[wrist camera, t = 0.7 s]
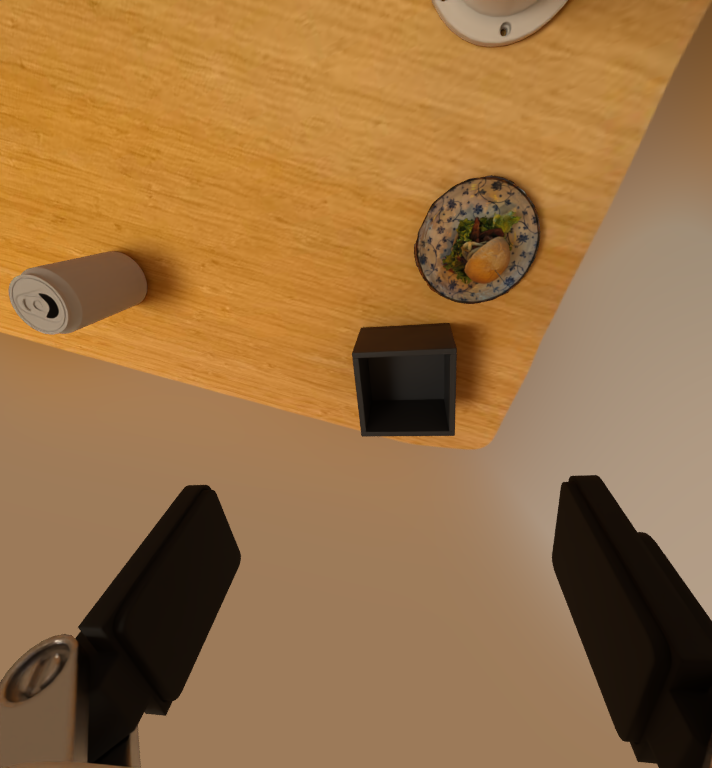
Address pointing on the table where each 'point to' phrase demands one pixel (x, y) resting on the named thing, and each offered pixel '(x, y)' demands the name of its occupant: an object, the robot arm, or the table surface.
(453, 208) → the burger on plate
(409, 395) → the bin
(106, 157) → the table surface
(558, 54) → the table surface
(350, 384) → the table surface
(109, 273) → the beverage can
